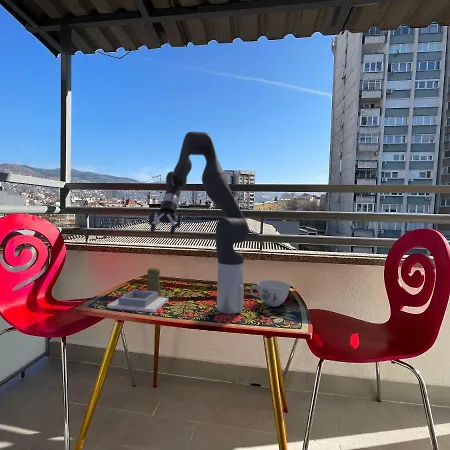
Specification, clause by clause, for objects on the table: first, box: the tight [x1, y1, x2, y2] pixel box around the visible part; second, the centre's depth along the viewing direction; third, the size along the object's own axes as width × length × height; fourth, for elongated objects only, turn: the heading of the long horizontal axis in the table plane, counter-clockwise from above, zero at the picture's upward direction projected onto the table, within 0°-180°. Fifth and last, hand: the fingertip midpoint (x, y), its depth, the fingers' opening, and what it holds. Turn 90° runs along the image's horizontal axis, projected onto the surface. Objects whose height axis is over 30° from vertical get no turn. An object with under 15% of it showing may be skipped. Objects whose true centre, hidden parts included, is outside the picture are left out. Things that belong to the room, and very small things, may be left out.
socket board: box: [106, 289, 169, 313], centre depth 104 cm, size 18×13×4 cm
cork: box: [146, 267, 162, 297], centre depth 115 cm, size 6×6×11 cm
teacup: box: [250, 279, 291, 307], centre depth 107 cm, size 15×12×8 cm
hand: (161, 233), depth 123 cm, fingers open, 8 cm apart
